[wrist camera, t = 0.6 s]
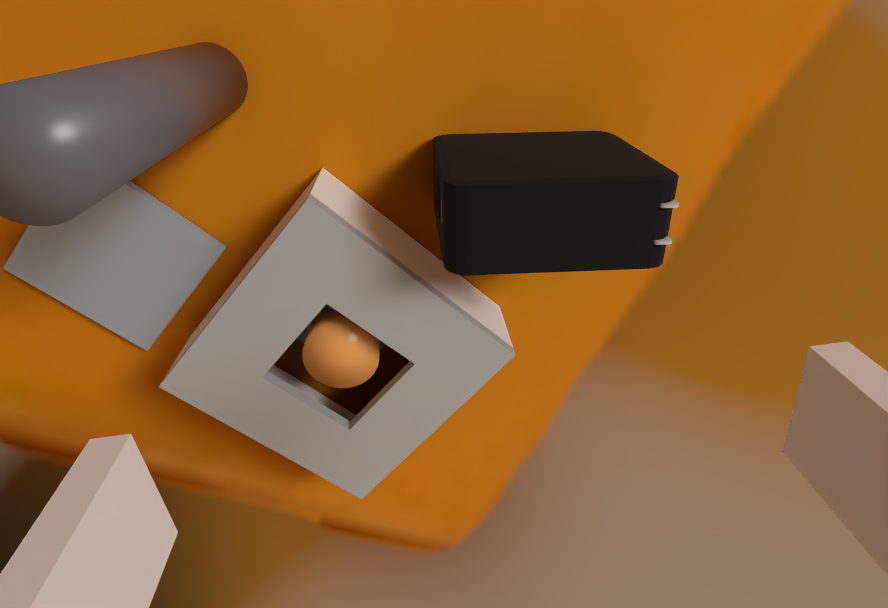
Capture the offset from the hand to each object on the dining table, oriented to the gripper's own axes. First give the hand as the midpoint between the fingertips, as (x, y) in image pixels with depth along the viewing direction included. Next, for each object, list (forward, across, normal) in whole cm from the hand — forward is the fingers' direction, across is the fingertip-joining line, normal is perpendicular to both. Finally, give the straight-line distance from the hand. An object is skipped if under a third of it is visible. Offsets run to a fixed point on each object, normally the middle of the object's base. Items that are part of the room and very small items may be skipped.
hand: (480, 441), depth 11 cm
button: (+21, -6, -10) cm, 24 cm away
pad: (+24, -18, -4) cm, 31 cm away
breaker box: (+24, -6, -10) cm, 26 cm away
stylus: (+24, -10, +5) cm, 27 cm away
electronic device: (+24, +6, -2) cm, 25 cm away
